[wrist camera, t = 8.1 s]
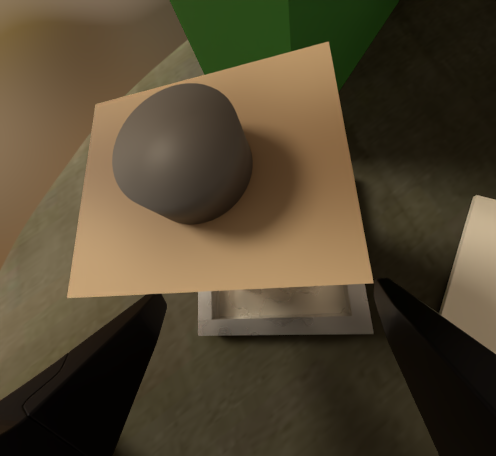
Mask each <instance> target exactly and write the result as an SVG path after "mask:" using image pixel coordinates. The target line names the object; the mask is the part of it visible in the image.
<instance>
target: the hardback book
mask: <svg viewBox="0 0 496 456" xmlns="http://www.w3.org/2000/svg"><path fill="white" fill-rule="evenodd" d="M170 2H171V4H172V6H173V9H174V11H175V13H176V15H177V17H178V19H179V21H180V23H181V25H182V28H183V30H184V32H185V34H186V36H187V38H188V40H189V43H190V45H191V47H192V49H193V51H194V53H195V55H196V57H197V60H198V62H199V64H200V66H201V68H202V70H203V72H204V74H205V75H206V74H210V73H214V72H217V71H221V70H225V69H228V68H232V67H236V66H240V65H243V64H247V63H251V62H254V61H258V60H262V59H266V58H269V57H273V56H277V55H280V54H284V53H288V52H292V51H295V50H299V49H303V48H306V47H310V46H314V45H318V44H321V43H325V42H329V45H330V51H331V56H332V62H333V67H334V72H335V78H336V83H337V89H338V92H339V91H340V89H341V88H342V86H343V85H344V83H345V82H346V80H347V79H348V77H349V76H350V74H351V73H352V71H353V70H354V68H355V67H356V65H357V64H358V62H359V61H360V59H361V58H362V56H363V55H364V53H365V52H366V50H367V49H368V47H369V46H370V44H371V43H372V41H373V40H374V38H375V37H376V35H377V34H378V32H379V31H380V29H381V28H382V26H383V25H384V23H385V22H386V20H387V19H388V17H389V16H390V14H391V13H392V11H393V10H394V8H395V7H396V5H397V4H398V2H399V0H170Z"/></svg>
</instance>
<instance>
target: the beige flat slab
mask: <svg viewBox="0 0 496 456" xmlns="http://www.w3.org/2000/svg"><path fill="white" fill-rule="evenodd" d="M439 314H440V315H441V316H443V317H444V318H446V319H447V320H448V321H450V322H451V323H453V324H454V325H455V326H457V327H458V328H460V329H461V330H463V331H464V332H465V333H467V334H468V335H470V336H471V337H472V338H474V339H475V340H477V341H478V342H479V343H481V344H482V345H484V346H485V347H487V348H488V349H489V350H491V351H492V352H494V353H495V354H496V200H494V199H490V198H486V197H482V196H478V195H476V196H474V197H473V199H472V202H471V206H470V209H469V213H468V216H467V219H466V223H465V226H464V230H463V233H462V236H461V240H460V243H459V247H458V250H457V253H456V257H455V260H454V264H453V267H452V271H451V274H450V277H449V281H448V284H447V288H446V291H445V294H444V298H443V301H442V305H441V308H440V311H439Z"/></svg>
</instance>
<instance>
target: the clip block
mask: <svg viewBox="0 0 496 456" xmlns="http://www.w3.org/2000/svg"><path fill="white" fill-rule="evenodd" d="M369 283H373V277H372V272H371V267H370V261H369V256H368V250H367V245H366V240H365V234H364V229H363V223H362V218H361V213H360V207H359V202H358V196H357V191H356V186H355V180H354V175H353V169H352V164H351V159H350V153H349V148H348V143H347V137H346V132H345V126H344V121H343V116H342V110H341V105H340V99H339V94H338V89H337V83H336V78H335V72H334V67H333V62H332V56H331V51H330V45H329V42H325V43H321V44H318V45H314V46H310V47H306V48H303V49H299V50H295V51H292V52H288V53H284V54H280V55H277V56H273V57H269V58H266V59H262V60H258V61H254V62H251V63H247V64H243V65H240V66H236V67H232V68H228V69H225V70H221V71H217V72H214V73H210V74H206V75H203V76H199V77H195V78H191V79H188V80H184V81H180V82H177V83H173V84H169V85H165V86H162V87H158V88H154V89H151V90H147V91H143V92H139V93H136V94H132V95H128V96H125V97H121V98H117V99H114V100H110V101H106V102H102V103H99V104H96V105H95V112H94V119H93V125H92V132H91V139H90V146H89V153H88V159H87V166H86V173H85V180H84V187H83V193H82V200H81V207H80V214H79V220H78V227H77V234H76V241H75V248H74V254H73V261H72V268H71V275H70V282H69V288H68V295H67V298H79V297H100V296H120V295H141V294H162V293H182V292H203V291H224V290H244V289H265V288H286V287H307V286H327V285H348V284H369Z"/></svg>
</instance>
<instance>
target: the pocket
mask: <svg viewBox="0 0 496 456" xmlns="http://www.w3.org/2000/svg"><path fill="white" fill-rule="evenodd" d="M318 334H374V332H373V327H372V321H371V316H370V310H369V305H368V299H367V294H366V288H365V284H348V285H327V286H307V287H286V288H265V289H244V290H224V291H203V292H198V336H216V335H318Z"/></svg>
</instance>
